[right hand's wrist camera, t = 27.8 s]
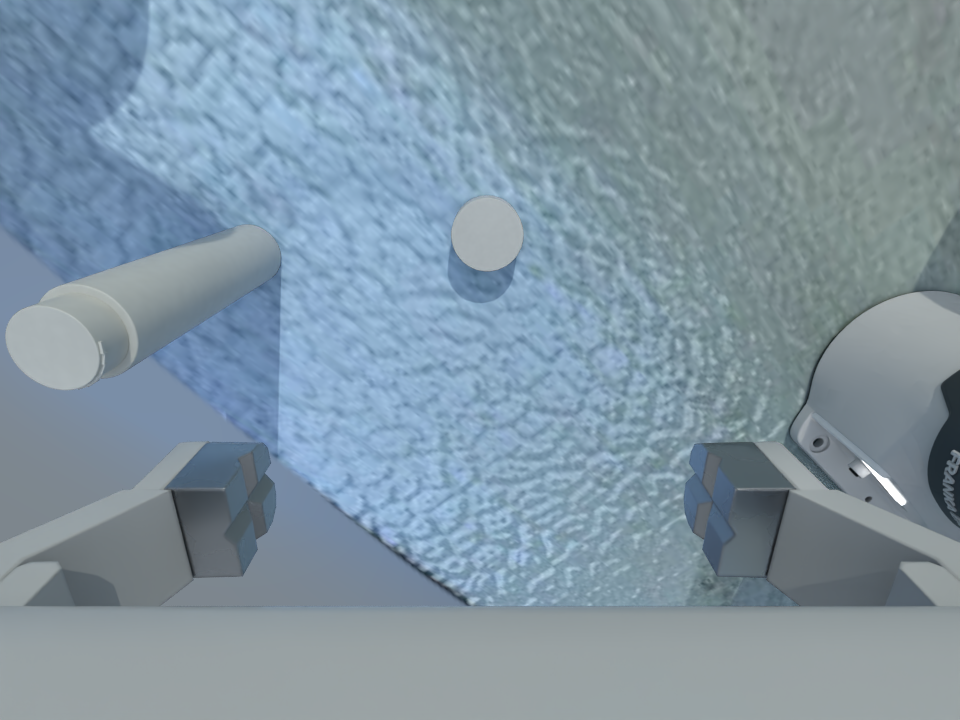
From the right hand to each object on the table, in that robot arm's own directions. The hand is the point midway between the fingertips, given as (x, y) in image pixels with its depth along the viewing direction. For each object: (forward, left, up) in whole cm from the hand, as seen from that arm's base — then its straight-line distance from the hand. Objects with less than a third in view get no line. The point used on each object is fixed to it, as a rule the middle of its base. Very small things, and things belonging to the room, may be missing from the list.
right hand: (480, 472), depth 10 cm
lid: (0, 0, -29) cm, 29 cm away
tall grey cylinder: (+8, +15, -31) cm, 35 cm away
